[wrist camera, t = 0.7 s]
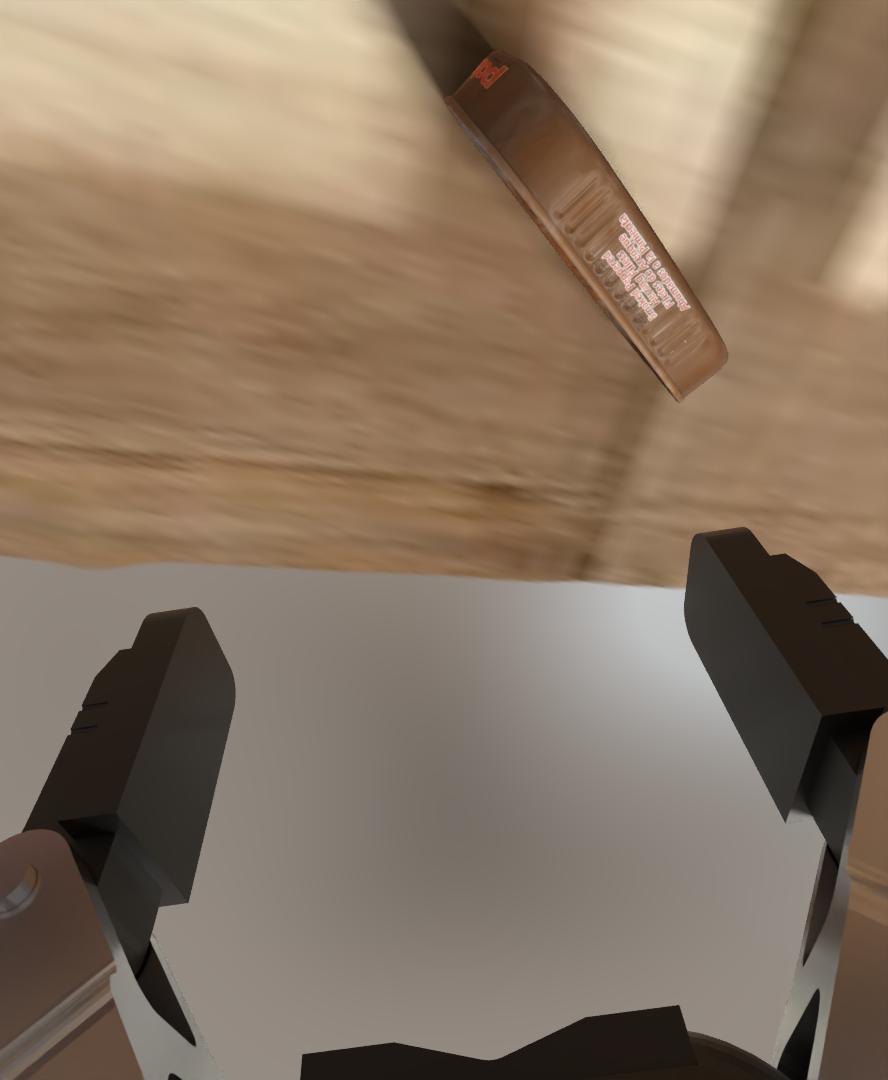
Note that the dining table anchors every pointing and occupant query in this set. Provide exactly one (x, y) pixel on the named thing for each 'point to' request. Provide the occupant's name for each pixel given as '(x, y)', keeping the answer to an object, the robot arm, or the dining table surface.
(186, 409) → the dining table surface
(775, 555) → the robot arm
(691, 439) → the dining table surface
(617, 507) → the dining table surface
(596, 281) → the tin
